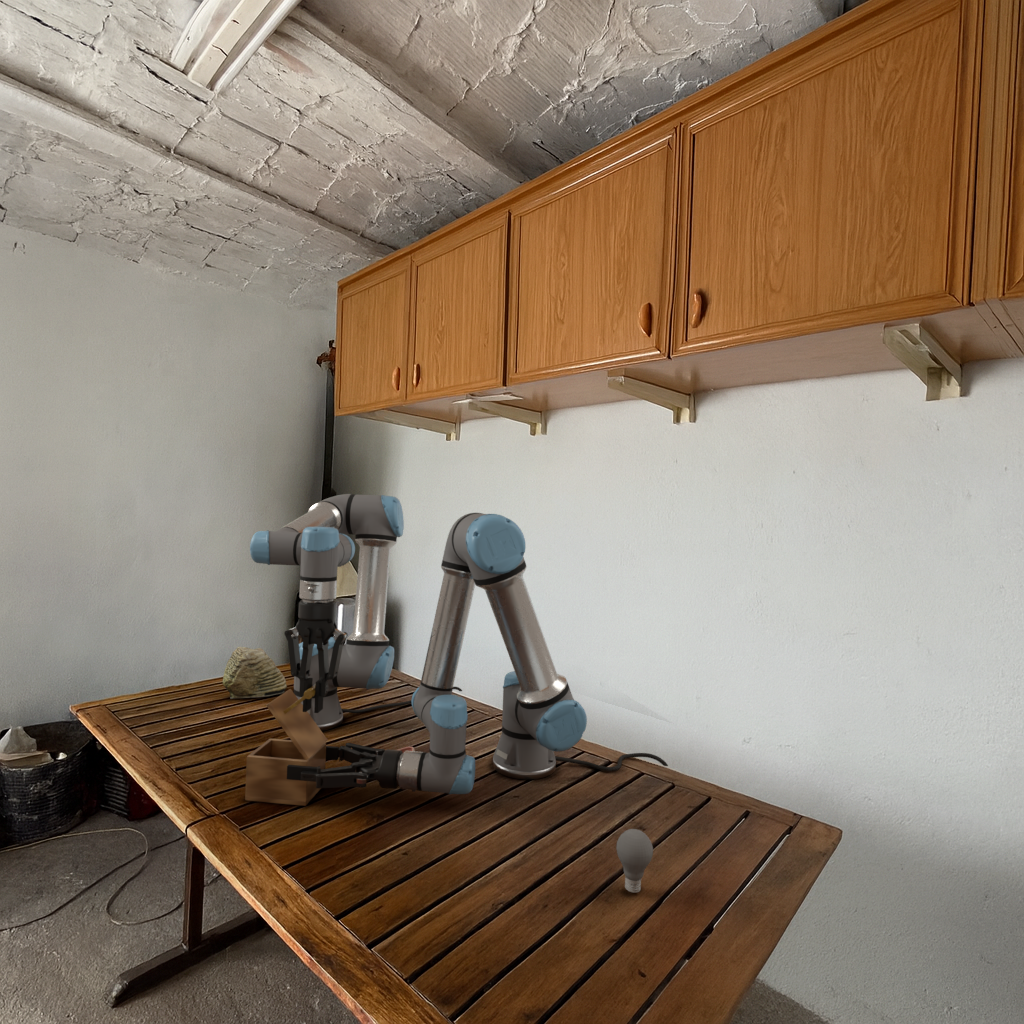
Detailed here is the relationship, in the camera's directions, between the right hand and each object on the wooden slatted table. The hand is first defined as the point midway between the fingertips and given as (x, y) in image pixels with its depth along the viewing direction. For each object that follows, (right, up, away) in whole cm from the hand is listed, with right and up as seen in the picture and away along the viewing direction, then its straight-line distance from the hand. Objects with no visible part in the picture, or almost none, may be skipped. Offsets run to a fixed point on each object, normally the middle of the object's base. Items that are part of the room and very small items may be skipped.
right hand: (299, 761), depth 135 cm
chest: (-3, -7, 0) cm, 7 cm away
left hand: (+3, +11, 0) cm, 12 cm away
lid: (0, +8, 0) cm, 8 cm away
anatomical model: (+15, -7, +14) cm, 22 cm away
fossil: (-35, -4, +63) cm, 72 cm away
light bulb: (+66, -10, -29) cm, 72 cm away
